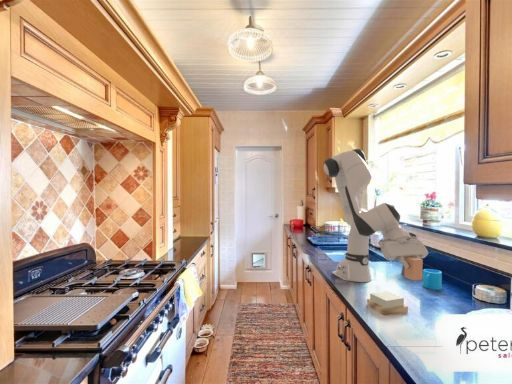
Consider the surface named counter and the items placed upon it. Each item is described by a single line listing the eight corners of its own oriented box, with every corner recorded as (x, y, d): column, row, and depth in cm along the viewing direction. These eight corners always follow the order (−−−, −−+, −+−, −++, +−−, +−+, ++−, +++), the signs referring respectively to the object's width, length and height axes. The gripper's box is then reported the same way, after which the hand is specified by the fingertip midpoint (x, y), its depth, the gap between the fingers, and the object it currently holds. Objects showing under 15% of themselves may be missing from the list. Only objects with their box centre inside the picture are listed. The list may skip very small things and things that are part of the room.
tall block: (404, 277, 121) (404, 257, 121) (413, 276, 122) (413, 257, 122) (413, 280, 117) (413, 260, 117) (422, 279, 118) (422, 259, 118)
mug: (426, 283, 158) (426, 268, 158) (444, 287, 151) (444, 271, 151) (417, 288, 150) (417, 271, 150) (435, 292, 144) (435, 275, 144)
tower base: (367, 306, 127) (367, 299, 127) (389, 304, 129) (389, 297, 129) (384, 316, 116) (384, 309, 116) (407, 314, 119) (407, 306, 119)
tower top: (370, 300, 125) (370, 293, 125) (386, 298, 128) (386, 291, 128) (386, 308, 117) (386, 300, 117) (403, 305, 120) (403, 298, 120)
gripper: (380, 235, 123) (397, 264, 114) (419, 234, 129) (438, 261, 120) (373, 244, 127) (389, 272, 118) (411, 242, 133) (429, 270, 124)
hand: (414, 267), depth 119 cm, fingers closed on tall block, 4 cm apart
